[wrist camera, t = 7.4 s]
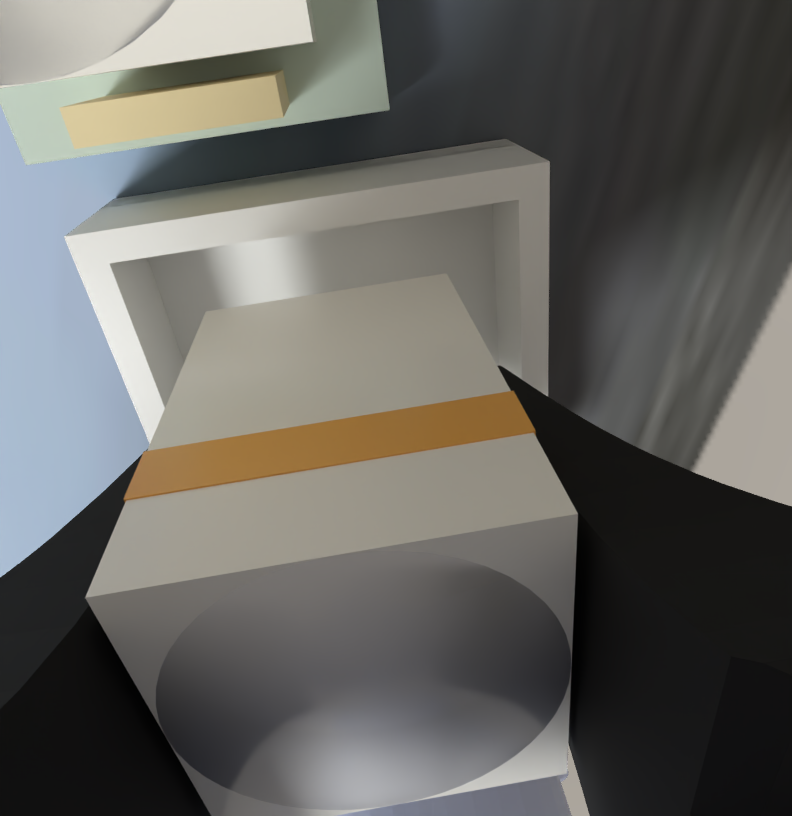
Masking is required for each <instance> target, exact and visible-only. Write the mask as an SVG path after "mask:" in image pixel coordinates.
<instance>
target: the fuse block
mask: <svg viewBox="0 0 792 816" xmlns="http://www.w3.org/2000/svg"><path fill="white" fill-rule="evenodd" d="M310 4H311V10H312V16H313V22H314V28H315V34H316V40H317V42H312V43H306V44H299V45H292V46H285V47H279V48H272V49H265V50H258V51H252V52H245V53H238V54H231V55H225V56H218V57H211V58H205V59H198V60H191V61H184V62H178V63H171V64H164V65H157V66H151V67H144V68H137V69H130V70H124V71H117V72H110V73H103V74H97V75H90V76H83V77H76V78H70V79H63V80H56V81H49V82H42V83H35V84H28V85H22V86H15V87H8V88H1V89H0V105H1V107H2V109H3V112H4V114H5V116H6V119H7V121H8V124H9V126H10V128H11V131H12V133H13V135H14V138H15V140H16V143H17V145H18V147H19V150H20V152H21V154H22V157H23V159H24V162H25V164H26V165H31V164H37V163H44V162H51V161H57V160H64V159H70V158H77V157H84V156H90V155H97V154H103V153H110V152H117V151H123V150H130V149H136V148H143V147H150V146H156V145H163V144H169V143H176V142H182V141H189V140H196V139H202V138H209V137H215V136H222V135H229V134H235V133H242V132H248V131H255V130H262V129H268V128H275V127H281V126H288V125H295V124H301V123H308V122H314V121H321V120H328V119H334V118H341V117H347V116H354V115H361V114H367V113H374V112H380V111H387V110H390V109H389V100H388V92H387V83H386V75H385V66H384V58H383V50H382V41H381V33H380V24H379V16H378V7H377V0H310Z"/></svg>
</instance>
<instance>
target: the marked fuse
mask: <svg viewBox="0 0 792 816" xmlns="http://www.w3.org/2000/svg"><path fill="white" fill-rule="evenodd" d="M123 500H124V502H125V504H124V507H123V509H122V511H121V514H120V516H119V519H118V521H117V523H116V526H115V528H114V530H113V533H112V535H111V538H110V540H109V542H108V545H107V547H106V549H105V552H104V554H103V557H102V559H101V561H100V564H99V566H98V568H97V571H96V573H95V575H94V578H93V580H92V583H91V585H90V587H89V590H88V592H87V594H86V597H85V598H86V600H87V602H88V604H89V605H90V607H91V609H92V611H93V612H94V614H95V616H96V617H97V619H98V621H99V623H100V624H101V626H102V628H103V630H104V631H105V633H106V635H107V636H108V638H109V640H110V642H111V643H112V645H113V647H114V649H115V650H116V652H117V654H118V655H119V657H120V659H121V661H122V662H123V664H124V666H125V667H126V669H127V671H128V673H129V674H130V676H131V678H132V680H133V681H134V683H135V685H136V686H137V688H138V690H139V692H140V693H141V695H142V697H143V699H144V700H145V702H146V704H147V705H148V707H149V709H150V711H151V712H152V714H153V716H154V718H155V719H156V721H157V723H158V724H159V726H160V728H161V730H162V731H163V733H164V735H165V737H166V738H167V740H168V742H169V743H170V745H171V747H172V749H173V750H174V752H175V754H176V756H177V757H178V759H179V761H180V762H181V764H182V766H183V768H184V769H185V771H186V773H187V775H188V776H189V778H190V780H191V781H192V783H193V785H194V787H195V788H196V790H197V792H198V794H199V795H200V797H201V799H202V800H203V802H204V804H205V806H206V807H207V809H208V811H209V813H210V814H211V816H337V815H342V814H348V813H353V812H359V811H364V810H370V809H375V808H381V807H386V806H392V805H397V804H403V803H408V802H414V801H419V800H425V799H430V798H436V797H441V796H447V795H452V794H458V793H463V792H469V791H474V790H480V789H485V788H491V787H496V786H502V785H507V784H513V783H518V782H524V781H529V780H535V779H540V778H546V777H551V776H557V775H562V774H567V761H568V737H569V713H570V690H571V666H572V642H573V619H574V595H575V572H576V548H577V524H578V513H577V511H576V509H575V507H574V506H573V504H572V502H571V500H570V498H569V496H568V495H567V493H566V491H565V489H564V487H563V485H562V484H561V482H560V480H559V478H558V476H557V474H556V473H555V471H554V469H553V467H552V465H551V464H550V462H549V460H548V458H547V456H546V454H545V453H544V451H543V449H542V447H541V445H540V443H539V442H538V440H537V438H536V430H535V429H534V427H533V425H532V423H531V421H530V420H529V418H528V416H527V414H526V412H525V411H524V409H523V407H522V405H521V403H520V402H519V400H518V398H517V396H516V394H515V392H514V391H511V390H510V388H509V387H508V385H507V383H506V381H505V379H504V377H503V376H502V374H501V372H500V370H499V368H498V366H497V365H496V363H495V361H494V359H493V357H492V355H491V354H490V352H489V350H488V348H487V346H486V344H485V343H484V341H483V339H482V337H481V335H480V333H479V332H478V330H477V328H476V326H475V324H474V323H473V321H472V319H471V317H470V315H469V313H468V312H467V310H466V308H465V306H464V304H463V302H462V301H461V299H460V297H459V295H458V293H457V291H456V290H455V288H454V286H453V284H452V282H451V280H450V279H449V277H448V275H447V273H446V274H439V275H433V276H427V277H420V278H414V279H408V280H402V281H395V282H389V283H383V284H376V285H370V286H364V287H358V288H351V289H345V290H339V291H332V292H326V293H320V294H314V295H307V296H301V297H295V298H288V299H282V300H276V301H270V302H263V303H257V304H251V305H245V306H238V307H232V308H226V309H219V310H213V311H207V312H205V315H204V317H203V320H202V322H201V324H200V327H199V329H198V331H197V334H196V336H195V338H194V341H193V343H192V346H191V348H190V350H189V353H188V355H187V357H186V360H185V362H184V365H183V367H182V369H181V372H180V374H179V376H178V379H177V381H176V384H175V386H174V388H173V391H172V393H171V395H170V398H169V400H168V402H167V405H166V407H165V410H164V412H163V414H162V417H161V419H160V421H159V424H158V426H157V429H156V431H155V433H154V436H153V438H152V440H151V443H150V445H149V448H148V450H147V451H144V452H143V455H142V457H141V459H140V462H139V464H138V466H137V469H136V471H135V473H134V476H133V478H132V480H131V483H130V485H129V487H128V490H127V492H126V494H125V497H124V499H123Z"/></svg>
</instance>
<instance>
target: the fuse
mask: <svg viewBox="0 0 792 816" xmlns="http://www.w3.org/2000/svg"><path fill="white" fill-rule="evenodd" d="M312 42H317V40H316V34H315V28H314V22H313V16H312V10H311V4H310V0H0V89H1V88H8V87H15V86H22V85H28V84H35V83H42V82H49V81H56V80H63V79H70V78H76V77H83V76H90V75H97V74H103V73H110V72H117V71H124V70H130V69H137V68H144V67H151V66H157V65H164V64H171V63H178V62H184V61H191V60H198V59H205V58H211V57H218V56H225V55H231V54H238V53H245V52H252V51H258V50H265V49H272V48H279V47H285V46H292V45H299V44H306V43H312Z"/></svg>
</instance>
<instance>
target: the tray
mask: <svg viewBox="0 0 792 816" xmlns="http://www.w3.org/2000/svg"><path fill="white" fill-rule="evenodd" d="M549 204H550V161H548V160H546V159H544V158H542V157H540V156H538V155H536V154H534V153H533V152H531V151H529V150H527V149H525V148H523V147H521V146H519V145H517V144H515V143H513V142H511V141H509V140H508V139H501V140H494V141H488V142H481V143H475V144H468V145H462V146H455V147H449V148H442V149H436V150H429V151H423V152H416V153H410V154H403V155H397V156H390V157H383V158H377V159H370V160H364V161H357V162H351V163H344V164H338V165H331V166H325V167H318V168H312V169H305V170H299V171H292V172H286V173H279V174H273V175H266V176H260V177H253V178H247V179H240V180H234V181H227V182H221V183H214V184H208V185H201V186H195V187H188V188H182V189H175V190H169V191H162V192H156V193H149V194H143V195H136V196H130V197H123V198H117V199H113V200H112V201H110V202H109V203H108V204H106V205H105V206H104V207H102V208H101V209H100V210H99V211H97V212H96V213H95V214H93V215H92V216H91V217H89V218H88V219H87V220H85V221H84V222H83V223H81V224H80V225H79V226H77V227H76V228H75V229H73V230H72V231H71V232H70V233H68V234H67V235H66V236H64V238H65V240H66V243H67V245H68V247H69V250H70V252H71V255H72V257H73V260H74V262H75V264H76V267H77V269H78V272H79V274H80V276H81V279H82V281H83V284H84V286H85V288H86V291H87V293H88V296H89V298H90V301H91V303H92V305H93V308H94V310H95V313H96V315H97V317H98V320H99V322H100V325H101V327H102V329H103V332H104V334H105V337H106V339H107V342H108V344H109V346H110V349H111V351H112V354H113V356H114V358H115V361H116V363H117V366H118V368H119V370H120V373H121V375H122V378H123V380H124V383H125V385H126V387H127V390H128V392H129V395H130V397H131V399H132V402H133V404H134V407H135V409H136V411H137V414H138V416H139V419H140V421H141V424H142V426H143V428H144V431H145V433H146V436H147V438H148V440H149V443H151V440H152V438H153V436H154V433H155V431H156V429H157V426H158V424H159V421H160V419H161V417H162V414H163V412H164V410H165V407H166V405H167V402H168V400H169V398H170V395H171V393H172V391H173V388H174V386H175V384H176V381H177V379H178V376H179V374H180V372H181V369H182V367H183V365H184V362H185V360H186V357H187V355H188V353H189V350H190V348H191V346H192V343H193V341H194V338H195V336H196V334H197V331H198V329H199V327H200V324H201V322H202V320H203V317H204V315H205V312H207V311H213V310H219V309H226V308H232V307H238V306H245V305H251V304H257V303H263V302H270V301H276V300H282V299H288V298H295V297H301V296H307V295H314V294H320V293H326V292H332V291H339V290H345V289H351V288H358V287H364V286H370V285H376V284H383V283H389V282H395V281H402V280H408V279H414V278H420V277H427V276H433V275H439V274H446V273H447V275H448V277H449V279H450V280H451V282H452V284H453V286H454V288H455V290H456V291H457V293H458V295H459V297H460V299H461V301H462V302H463V304H464V306H465V308H466V310H467V312H468V313H469V315H470V317H471V319H472V321H473V323H474V324H475V326H476V328H477V330H478V332H479V333H480V335H481V337H482V339H483V341H484V343H485V344H486V346H487V348H488V350H489V352H490V354H491V355H492V357H493V359H494V361H495V363H496V365H497V366H499V365H500V366H502V367H504V368H505V369H507V370H508V371H510V372H512V373H513V374H515V375H516V376H518V377H519V378H520V379H522V380H523V381H525V382H526V383H528V384H529V385H531V386H532V387H534V388H535V389H537V390H538V391H540V392H541V393H543V394H544V395H546V396H548V347H549Z"/></svg>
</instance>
